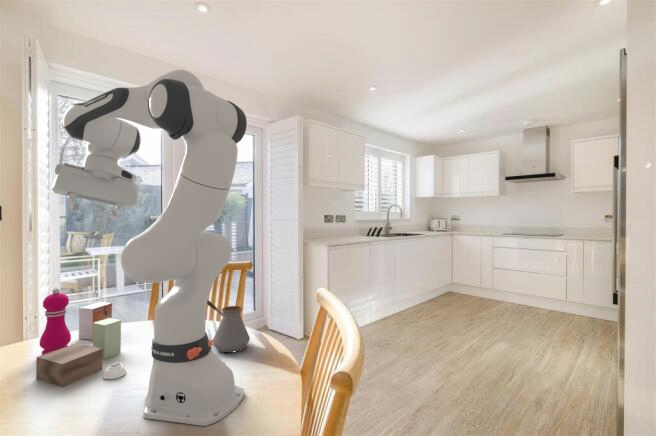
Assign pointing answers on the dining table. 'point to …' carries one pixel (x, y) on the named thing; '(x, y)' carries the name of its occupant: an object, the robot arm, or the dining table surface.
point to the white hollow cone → (114, 371)
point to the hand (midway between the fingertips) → (94, 214)
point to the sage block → (107, 336)
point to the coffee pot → (230, 330)
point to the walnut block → (69, 364)
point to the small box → (92, 317)
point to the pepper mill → (55, 322)
